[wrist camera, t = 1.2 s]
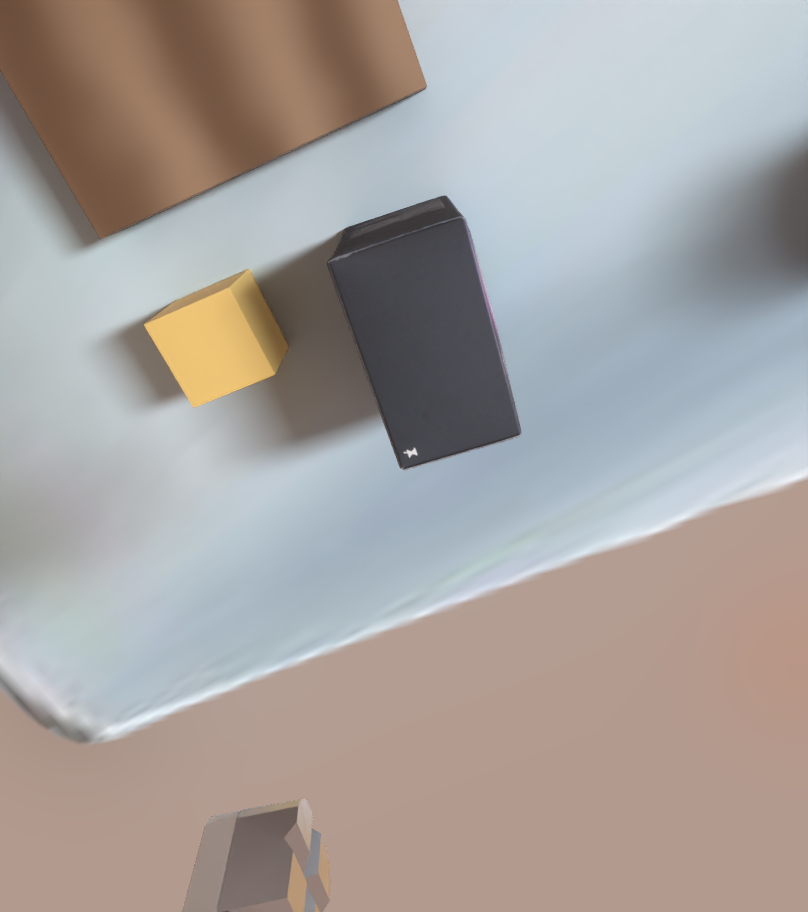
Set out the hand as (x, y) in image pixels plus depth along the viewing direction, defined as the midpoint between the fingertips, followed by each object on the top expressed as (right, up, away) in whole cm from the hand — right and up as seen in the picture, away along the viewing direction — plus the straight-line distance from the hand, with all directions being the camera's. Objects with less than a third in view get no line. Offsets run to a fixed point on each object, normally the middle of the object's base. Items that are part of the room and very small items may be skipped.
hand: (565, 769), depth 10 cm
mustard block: (-13, +13, +29) cm, 34 cm away
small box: (-1, +14, +28) cm, 32 cm away
